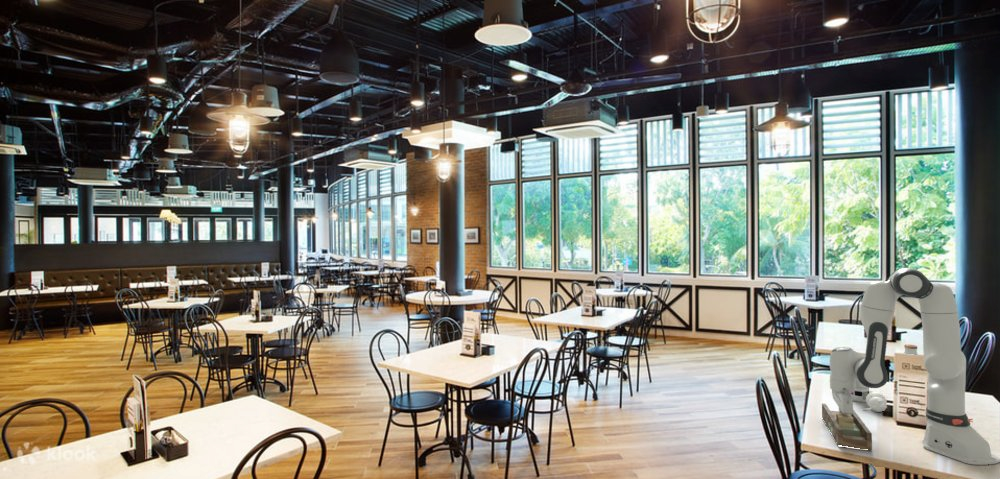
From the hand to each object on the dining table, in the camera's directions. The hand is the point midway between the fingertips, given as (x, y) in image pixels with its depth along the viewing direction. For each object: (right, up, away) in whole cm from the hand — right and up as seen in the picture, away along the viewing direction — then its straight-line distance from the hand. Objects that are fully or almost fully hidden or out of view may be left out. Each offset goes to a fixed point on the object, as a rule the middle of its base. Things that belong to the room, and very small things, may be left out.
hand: (842, 417), depth 213 cm
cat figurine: (+31, -5, +23) cm, 38 cm away
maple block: (-2, -2, -4) cm, 5 cm away
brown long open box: (-1, -6, -3) cm, 7 cm away
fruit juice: (+55, -4, +31) cm, 63 cm away
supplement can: (+33, -4, +36) cm, 49 cm away
